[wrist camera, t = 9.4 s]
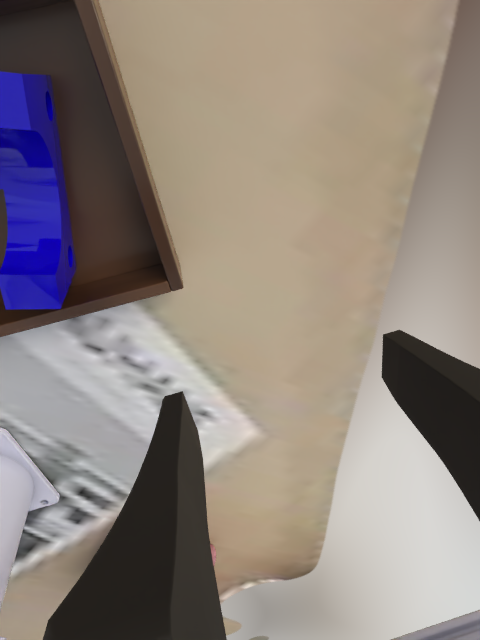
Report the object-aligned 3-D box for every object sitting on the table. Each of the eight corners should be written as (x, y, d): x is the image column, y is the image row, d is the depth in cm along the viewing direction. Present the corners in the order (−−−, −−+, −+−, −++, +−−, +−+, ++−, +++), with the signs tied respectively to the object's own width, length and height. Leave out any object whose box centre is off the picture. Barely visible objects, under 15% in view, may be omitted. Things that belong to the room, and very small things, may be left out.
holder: (-13, 316, 20) (-34, 346, 17) (-203, 37, 13) (-276, 30, 11) (180, 265, 20) (183, 288, 18) (91, -24, 14) (79, -44, 11)
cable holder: (-55, 63, 14) (-119, 58, 10) (50, 75, 14) (21, 73, 11) (-4, 267, 18) (-38, 310, 15) (76, 268, 19) (60, 308, 15)
